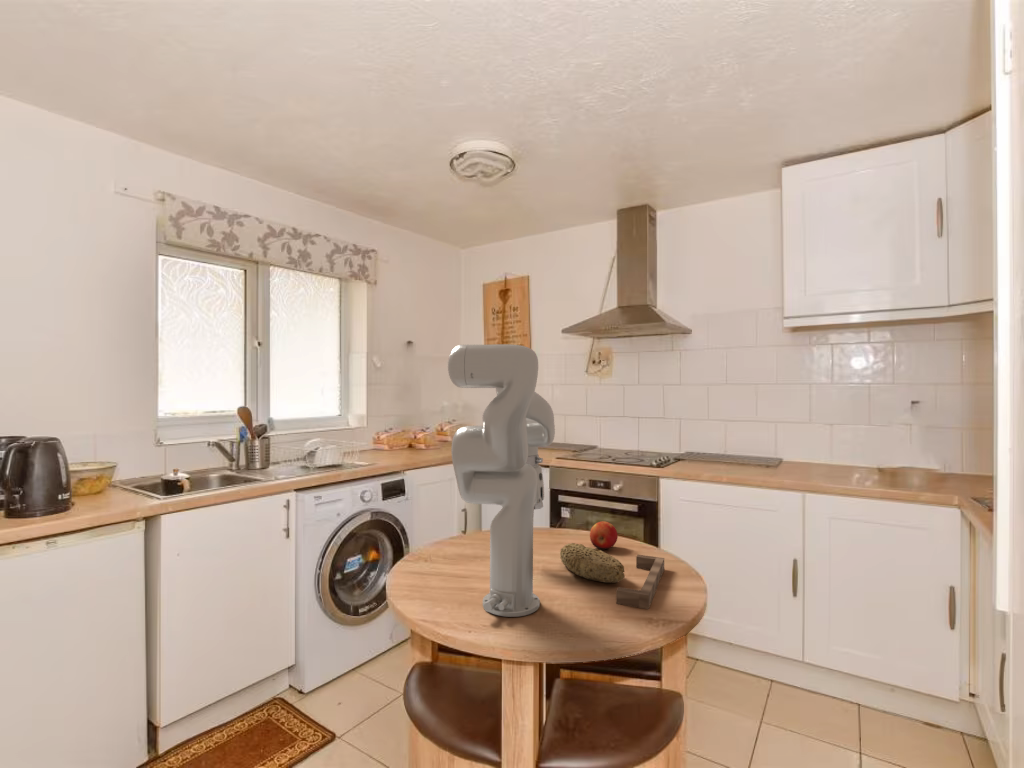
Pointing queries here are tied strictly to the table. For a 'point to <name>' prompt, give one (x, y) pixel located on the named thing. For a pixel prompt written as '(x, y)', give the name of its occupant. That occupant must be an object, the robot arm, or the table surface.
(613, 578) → the sponge
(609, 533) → the apple
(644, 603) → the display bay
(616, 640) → the table surface
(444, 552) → the table surface
